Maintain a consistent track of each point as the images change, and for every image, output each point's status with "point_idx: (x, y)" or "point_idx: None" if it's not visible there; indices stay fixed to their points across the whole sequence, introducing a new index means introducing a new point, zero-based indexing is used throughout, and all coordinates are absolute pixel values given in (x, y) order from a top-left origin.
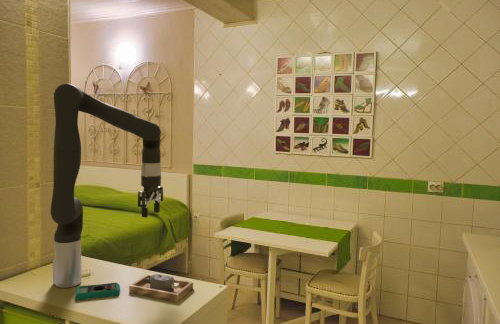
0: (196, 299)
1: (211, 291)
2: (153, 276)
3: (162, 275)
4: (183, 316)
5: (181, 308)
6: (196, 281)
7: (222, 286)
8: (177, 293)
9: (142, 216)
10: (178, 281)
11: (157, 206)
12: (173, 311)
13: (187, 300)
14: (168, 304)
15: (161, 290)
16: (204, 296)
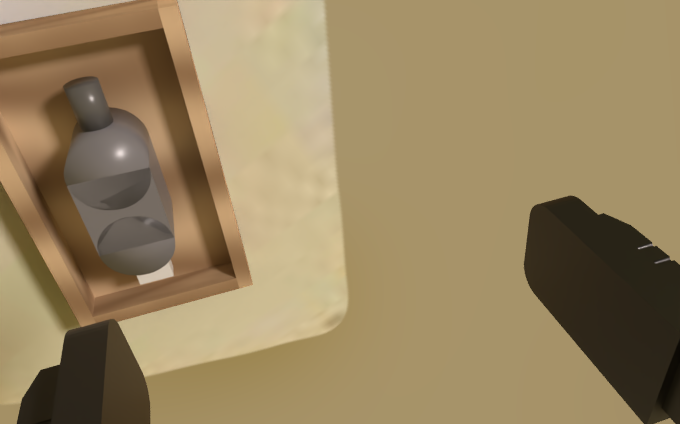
0: (167, 335)
1: (271, 326)
2: (96, 163)
3: (150, 193)
4: (9, 395)
5: (54, 351)
6: (327, 221)
7: (338, 323)
8: (94, 321)
9: (74, 342)
10: (220, 223)
11: (608, 351)
12: (5, 349)
13: (132, 320)
14: (35, 295)
15: (56, 250)
16: (213, 337)
